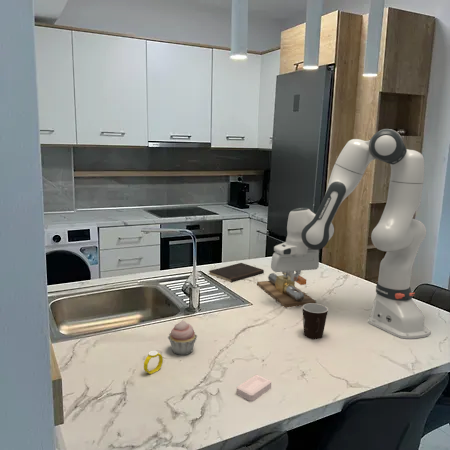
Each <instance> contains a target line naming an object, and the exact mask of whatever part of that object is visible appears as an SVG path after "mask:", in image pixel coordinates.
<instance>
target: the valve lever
mask: <svg viewBox="0 0 450 450" xmlns="http://www.w3.org/2000/svg"><path fill="white" fill-rule="evenodd" d="M281 274H285V275H288V276H290V274H289V271H288V272H281ZM293 275H295V272H294V273H293ZM290 277H291V276H290ZM295 283H297V284H299V285H300V286H305V285H307V278H305V277H303V276H301V275H299V276H298V280H297V281H295Z"/></svg>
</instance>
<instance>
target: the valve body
mask: <svg viewBox="0 0 450 450" xmlns="http://www.w3.org/2000/svg"><path fill="white" fill-rule="evenodd" d="M267 279H268V281H271V282H272V283H273V284H275V286H276V289H277V290H278V291H279V292H281V293H282V294H286V295H290V296H291V297H292V298H294V299H295V300H296V301H298V302H300V301H302V300H303V299H304V294H303V293H302V292H303V291H302V290H301V291H302V292H301V291H299V290H300V289H299V288H298V289H299V290H298V289H296V288H297V287H296V286H295V285H296V282H295V281H291V277H290V276H288V275H285V274H283V275H277V274H275V273H274V272H271V273H269V275H268V276H267ZM295 287H296V288H295Z"/></svg>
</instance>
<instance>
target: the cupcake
mask: <svg viewBox="0 0 450 450" xmlns="http://www.w3.org/2000/svg"><path fill="white" fill-rule="evenodd" d="M197 337H198V335H197V334H196V332H195V330H194V327H193V326H192V324H190V323H187V322H186V321H184V320H181V321H180V322H178V323H176V324H175V325H174V327H173V328H171V332H169V333H168V336H167V339H168V340H169V342H170V346H171V350H172V352H173V353H174V354H176V355H180V356H181V355H183V356H186V355H189V354H191V353H192V352H193V350H194V345H195V343H196V341H197Z"/></svg>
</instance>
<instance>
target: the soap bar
mask: <svg viewBox="0 0 450 450" xmlns="http://www.w3.org/2000/svg"><path fill="white" fill-rule="evenodd" d="M270 389H272V381H271V380H270V379H267V378H265V377H263V376H261V375H258V374H255V375H253V376H252V377H250V378H248V379H247V380H245V381H244V382H242V383H241V384H239V385H238V386H236V395H238V396H239V397H241V398H243V399H244V400H247V401H249V402H254V401H255V400H257V399H258V398H260V397H261V396H263V394H265V393H266V392H268V391H270Z"/></svg>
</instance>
